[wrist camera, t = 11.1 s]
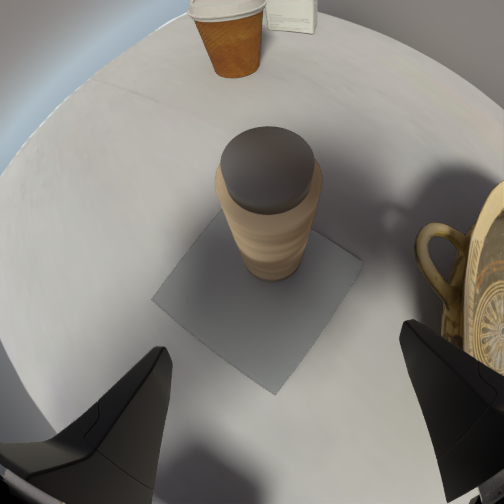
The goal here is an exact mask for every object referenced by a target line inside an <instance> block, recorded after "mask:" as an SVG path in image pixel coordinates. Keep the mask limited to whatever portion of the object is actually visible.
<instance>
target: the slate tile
mask: <svg viewBox="0 0 504 504" xmlns="http://www.w3.org/2000/svg"><path fill="white" fill-rule="evenodd" d="M363 265H364V263H363V262H362V261H360V260H359V259H357V258H356V257H354V256H353V255H351V254H350V253H348V252H347V251H345V250H344V249H342V248H341V247H339V246H338V245H336V244H335V243H333V242H332V241H330V240H328V239H327V238H325V237H324V236H322V235H321V234H319V233H318V232H316V231H314V230H313V229H310V233H309V236H308V240H307V243H306V247H305V250H304V253H303V257H302V260H301V263H300V265H299V267H298V269H297V270H296V271H295V272H294V273H293V274H292V275H291V276H290V277H288V278H286V279H284V280H281V281H276V282H268V281H264V280H261V279H258V278H256V277H255V276H253V275H252V274H251V273H250V272H249V271H248V269H247V268H246V266H245V264H244V262H243V259H242V257H241V254H240V252H239V249H238V247H237V244H236V242H235V239H234V236H233V234H232V231H231V229H230V226H229V224H228V221H227V219H226V216H225V214H224V211H223V209H221V211H220V212H219V213H218V214H217V215H216V217H215V218H214V219H213V220H212V222H211V223H210V224H209V225H208V226H207V228H206V229H205V230H204V231H203V233H202V234H201V235H200V236H199V238H198V239H197V240H196V241H195V243H194V244H193V245H192V247H191V248H190V249H189V250H188V252H187V253H186V254H185V255H184V257H183V258H182V259H181V261H180V262H179V263H178V264H177V266H176V267H175V268H174V270H173V271H172V272H171V274H170V275H169V276H168V278H167V279H166V280H165V282H164V283H163V284H162V286H161V287H160V288H159V290H158V291H157V292H156V294H155V295H154V296H153V298H152V299H151V300H152V301H153V302H155V303H156V304H157V305H158V306H159V307H160V308H161V309H162V310H164V311H165V312H166V313H167V314H168V315H169V316H170V317H172V318H173V319H174V320H175V321H176V322H178V323H179V324H180V325H181V326H182V327H183V328H185V329H186V330H187V331H188V332H190V333H191V334H192V335H193V336H194V337H196V338H197V339H198V340H199V341H201V342H202V343H203V344H204V345H206V346H207V347H208V348H210V349H211V350H212V351H213V352H215V353H216V354H217V355H219V356H220V357H221V358H223V359H224V360H225V361H227V362H228V363H229V364H231V365H232V366H233V367H235V368H236V369H237V370H239V371H240V372H242V373H243V374H244V375H246V376H247V377H249V378H250V379H251V380H253V381H254V382H256V383H257V384H259V385H260V386H262V387H263V388H265V389H266V390H267V391H269V392H270V393H272V394H273V395H276V394H277V393H278V391H279V390H280V389H281V387H282V386H283V385H284V384H285V382H286V381H287V380H288V378H289V377H290V376H291V374H292V373H293V372H294V370H295V369H296V368H297V366H298V365H299V363H300V362H301V361H302V359H303V358H304V357H305V355H306V354H307V352H308V351H309V350H310V348H311V347H312V345H313V344H314V342H315V341H316V339H317V338H318V337H319V335H320V334H321V332H322V331H323V329H324V328H325V326H326V325H327V323H328V322H329V320H330V319H331V317H332V316H333V314H334V312H335V311H336V309H337V308H338V306H339V305H340V303H341V301H342V300H343V298H344V297H345V295H346V293H347V292H348V290H349V288H350V287H351V285H352V283H353V282H354V280H355V278H356V277H357V275H358V273H359V272H360V270H361V268H362V266H363Z"/></svg>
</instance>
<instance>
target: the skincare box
mask: <svg viewBox="0 0 504 504" xmlns="http://www.w3.org/2000/svg"><path fill="white" fill-rule="evenodd" d="M265 6H266V13H267V22H268V29H269V30H281V31H292V32H301V33H309V34H313V33H314V30H315V27H316V24H317V0H267V3H266V5H265Z"/></svg>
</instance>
